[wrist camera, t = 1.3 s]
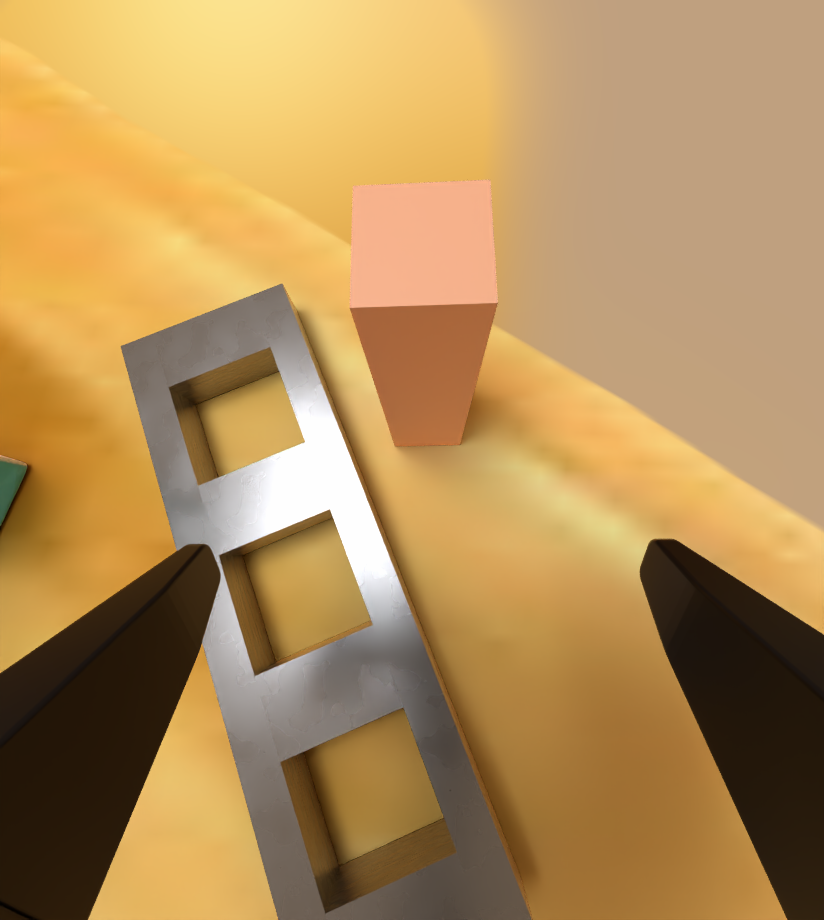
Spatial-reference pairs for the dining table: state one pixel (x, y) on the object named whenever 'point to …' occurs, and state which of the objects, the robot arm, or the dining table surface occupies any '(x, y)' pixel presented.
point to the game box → (9, 482)
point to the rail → (327, 663)
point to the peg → (424, 300)
